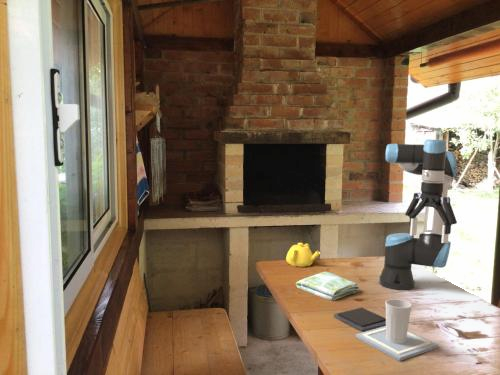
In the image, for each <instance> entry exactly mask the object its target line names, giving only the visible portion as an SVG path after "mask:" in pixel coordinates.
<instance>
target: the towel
mask: <svg viewBox="0 0 500 375" xmlns="http://www.w3.org/2000/svg"><path fill="white" fill-rule="evenodd" d="M295 286H296V287H297V289H300V290H302V291H305V292H307V293H309V294H312V295H315V296H318V297H320V298H323V299H326V300H328V301H337V300H338V299H340V298H344V297H347V296H348V295H351V294H356V293H357V292H358V291H359V289H360V287H359V286H358V283H357V282H354V281H351V280H349V279H346V278H344V277H341V276H340V275H337V274H335V273H332V272H329V271H322V272H318V273H316V274H314V275H313V274H312V275H310V276H308V277H304V278H303V279H300V280H298V281H296V283H295Z"/></svg>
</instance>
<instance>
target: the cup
mask: <svg viewBox="0 0 500 375" xmlns="http://www.w3.org/2000/svg"><path fill="white" fill-rule="evenodd" d="M384 304H385V318H386V325H385V326H386V339H387V340H388V341H389V342H392V343H396V344H403V343H406V341H407V331H409V323H410V316H411V313H412V312H411V310H412V303H411V302H409V301H406V300H404V299H398V298H389V299H387V300H385V303H384Z"/></svg>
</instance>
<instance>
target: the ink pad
mask: <svg viewBox="0 0 500 375" xmlns="http://www.w3.org/2000/svg"><path fill="white" fill-rule="evenodd" d="M333 318H335V319H336V320H339V321H340V322H342V323H344V324H346V325H348V326H350V327H352V328H354V329H356V330H358V331H359V332H360V333H362V332H366V331H369V330H373V329H376V328H380V327H383V326H386V317H384V316H381V315H380V314H377V313H375V312H373V311H371V310H368V309H366V308H364V307H358V308H354V309H350V310H345V311H340V312H337V313H333Z"/></svg>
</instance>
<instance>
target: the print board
mask: <svg viewBox="0 0 500 375" xmlns="http://www.w3.org/2000/svg"><path fill="white" fill-rule="evenodd" d="M354 336H355V338H356V339H358V340H359V341H362V342H363V343H366V344H367V345H369V346H371V347H372V348H374V349H377V350H378V351H380V352H381V353H384V354H385V355H387V356H389V357H391V358H393V359H394V360H397V361H398V362H401V361H403V360H407V359H409V358H412V357H416V356H418V355H421V354H423V353H424V354H425V353H427V352H429V351H433V350H436V349H438V348H439V344H438V343H436V342H433V341H431V340H430V339H428V338H425V337H423V336H421V335H418V334H416V333H415V332H412V331H410V330H408V331H407V341H406V343H403V344H396V343H392V342H389V341H388V340H387V339H386V325H385V326H381V327H377V328H374V329H370V330H367V331H363V332H359V333H355V335H354Z"/></svg>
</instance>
